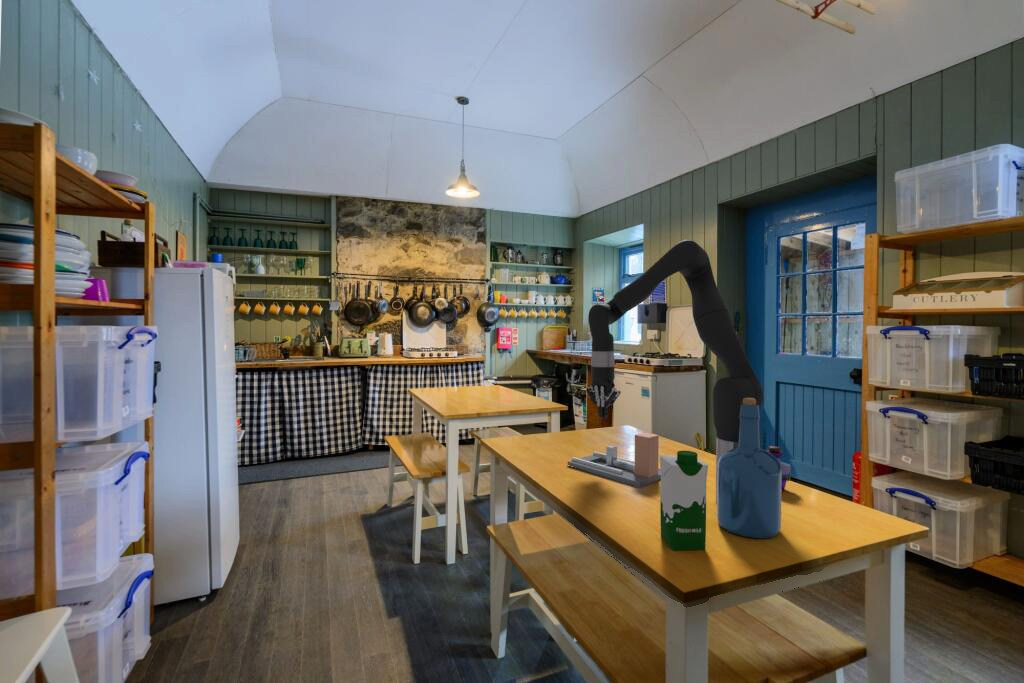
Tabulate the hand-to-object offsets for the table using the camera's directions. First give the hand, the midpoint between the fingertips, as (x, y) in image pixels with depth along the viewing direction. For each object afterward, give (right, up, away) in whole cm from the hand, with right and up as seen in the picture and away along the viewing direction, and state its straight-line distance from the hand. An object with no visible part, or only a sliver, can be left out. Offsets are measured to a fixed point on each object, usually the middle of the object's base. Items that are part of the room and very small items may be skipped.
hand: (602, 417), depth 157 cm
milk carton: (+7, -18, -54) cm, 57 cm away
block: (+11, -15, -12) cm, 22 cm away
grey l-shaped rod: (+6, -15, -5) cm, 17 cm away
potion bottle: (+45, -17, -20) cm, 52 cm away
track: (+4, -17, -3) cm, 17 cm away
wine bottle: (+25, -18, -47) cm, 56 cm away
